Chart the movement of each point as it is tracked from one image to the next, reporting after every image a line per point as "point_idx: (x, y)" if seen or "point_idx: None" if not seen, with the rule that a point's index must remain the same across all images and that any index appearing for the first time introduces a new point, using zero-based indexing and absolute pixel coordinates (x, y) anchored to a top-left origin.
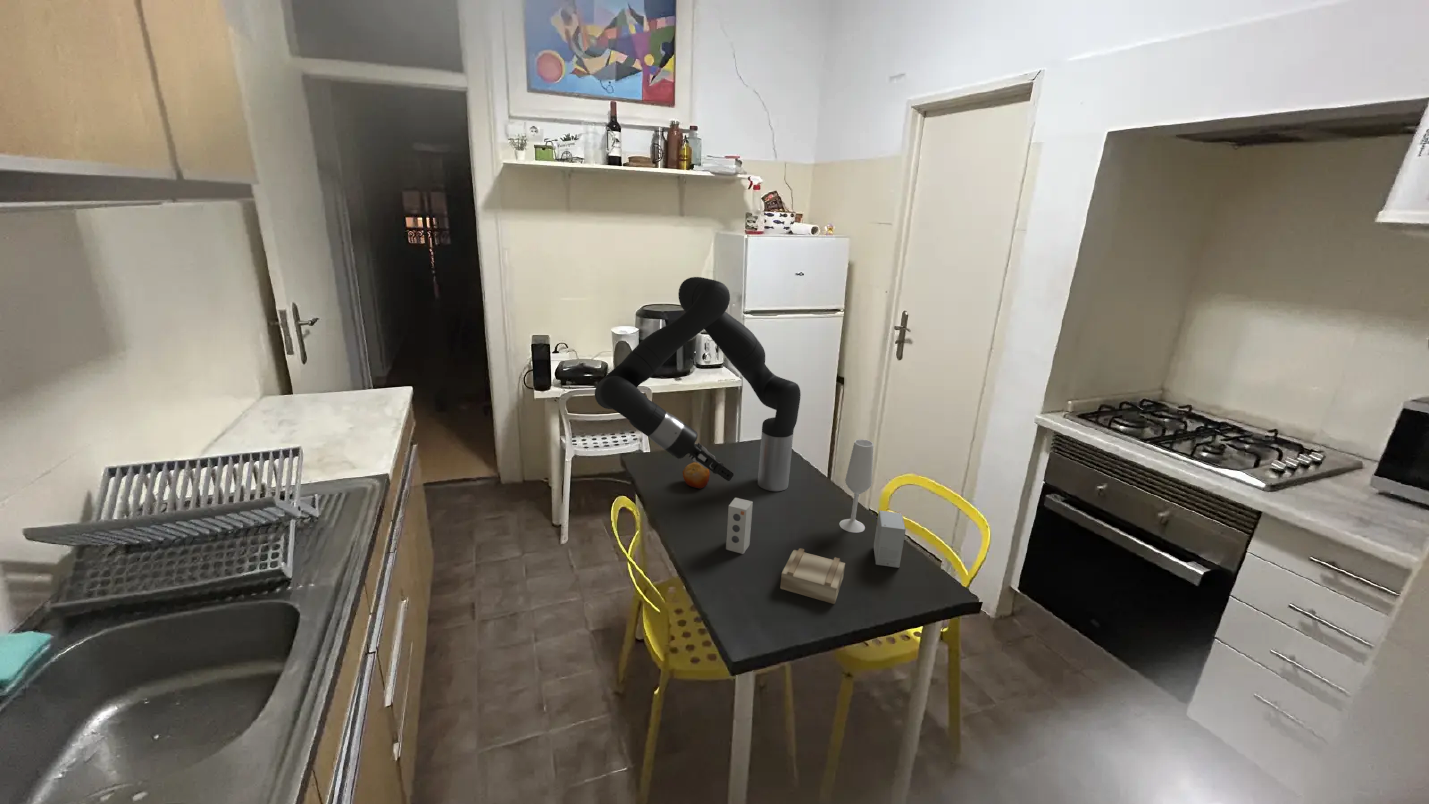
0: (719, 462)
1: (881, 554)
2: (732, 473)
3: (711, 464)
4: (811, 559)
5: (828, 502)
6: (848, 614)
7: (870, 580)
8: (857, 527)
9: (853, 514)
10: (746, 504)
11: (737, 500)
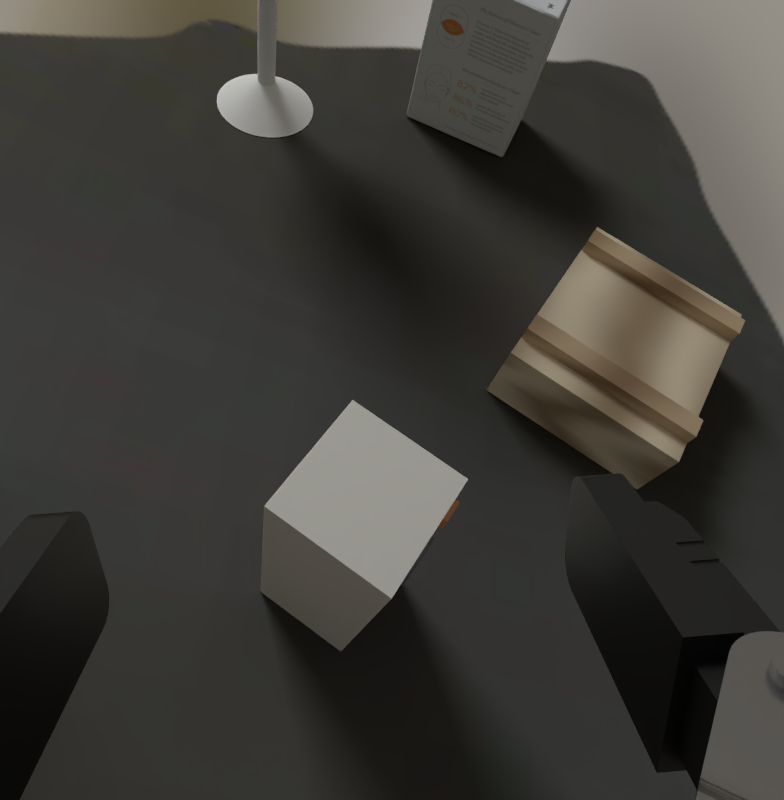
0: (48, 563)
1: (521, 116)
2: (621, 486)
3: (28, 725)
4: (579, 318)
5: (65, 87)
6: (739, 335)
7: (578, 208)
8: (297, 96)
9: (274, 58)
10: (388, 455)
11: (316, 502)
